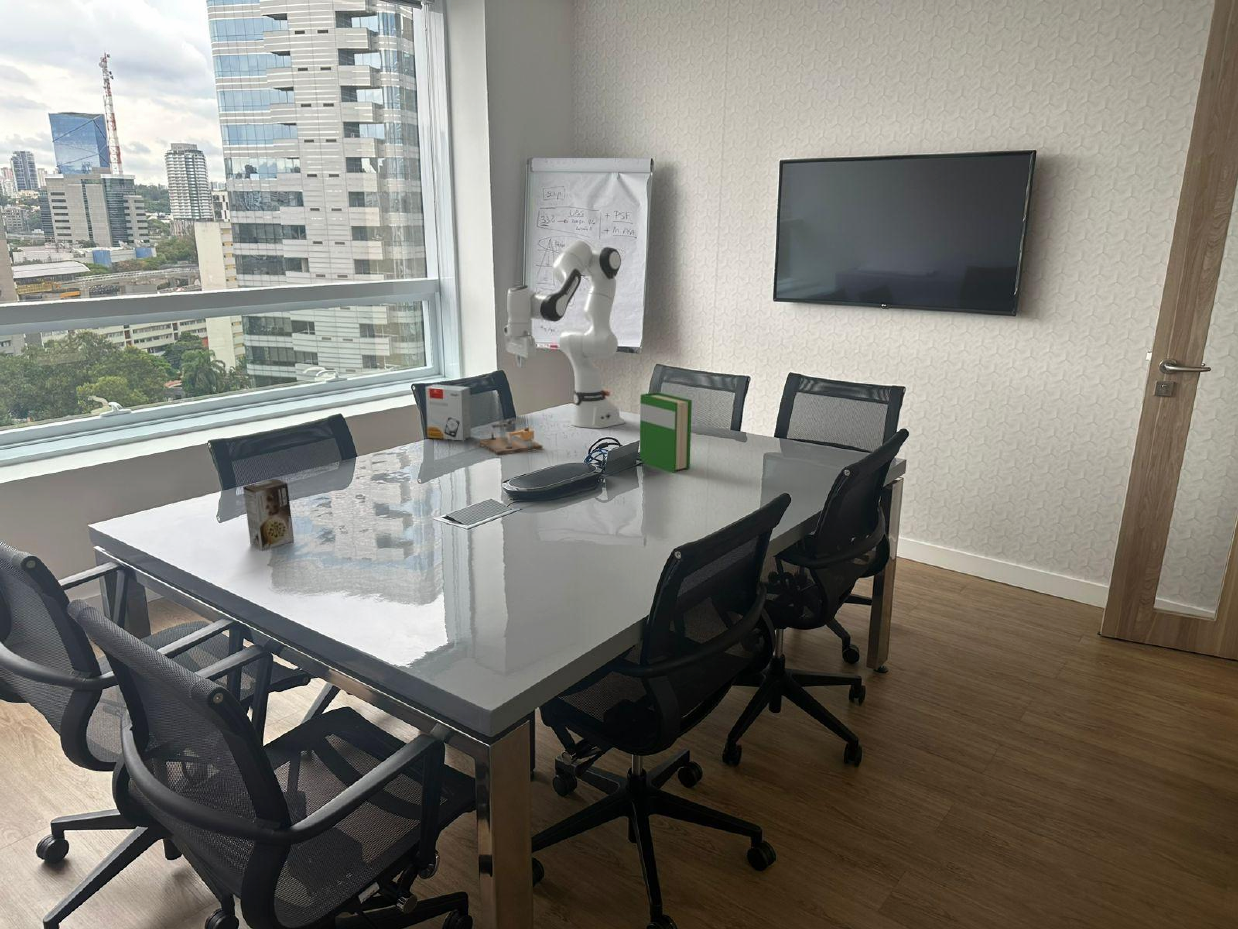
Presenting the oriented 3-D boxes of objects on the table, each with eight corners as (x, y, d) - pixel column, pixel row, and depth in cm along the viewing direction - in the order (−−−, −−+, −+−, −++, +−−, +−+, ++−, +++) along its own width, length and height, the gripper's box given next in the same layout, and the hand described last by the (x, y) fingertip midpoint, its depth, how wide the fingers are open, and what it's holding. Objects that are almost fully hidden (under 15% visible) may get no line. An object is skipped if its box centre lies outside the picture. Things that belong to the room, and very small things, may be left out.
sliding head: (529, 442, 321) (529, 426, 320) (534, 444, 318) (533, 428, 317) (506, 445, 317) (505, 429, 315) (510, 447, 314) (509, 431, 312)
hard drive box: (426, 438, 334) (423, 387, 328) (436, 433, 341) (433, 384, 336) (463, 441, 330) (460, 389, 324) (472, 436, 337) (470, 386, 331)
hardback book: (689, 469, 294) (691, 400, 288) (673, 473, 290) (675, 402, 283) (655, 458, 308) (656, 391, 301) (639, 461, 303) (640, 394, 297)
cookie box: (281, 535, 231) (275, 477, 226) (294, 541, 227) (288, 482, 222) (249, 545, 224) (242, 485, 220) (262, 551, 220) (255, 490, 216)
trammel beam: (513, 435, 334) (512, 419, 332) (534, 446, 318) (533, 429, 316) (490, 438, 330) (489, 421, 328) (510, 449, 314) (510, 432, 312)
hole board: (520, 437, 336) (520, 434, 336) (542, 448, 320) (542, 445, 319) (476, 442, 327) (476, 439, 327) (497, 455, 311) (496, 451, 310)
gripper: (540, 332, 313) (541, 370, 317) (516, 326, 329) (518, 362, 333) (524, 334, 310) (525, 372, 313) (501, 327, 326) (503, 363, 330)
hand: (521, 367), depth 324 cm, fingers closed
